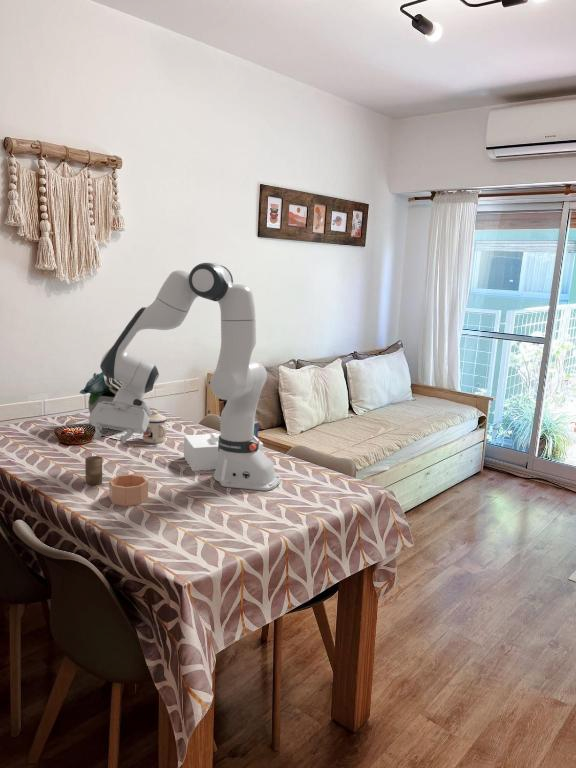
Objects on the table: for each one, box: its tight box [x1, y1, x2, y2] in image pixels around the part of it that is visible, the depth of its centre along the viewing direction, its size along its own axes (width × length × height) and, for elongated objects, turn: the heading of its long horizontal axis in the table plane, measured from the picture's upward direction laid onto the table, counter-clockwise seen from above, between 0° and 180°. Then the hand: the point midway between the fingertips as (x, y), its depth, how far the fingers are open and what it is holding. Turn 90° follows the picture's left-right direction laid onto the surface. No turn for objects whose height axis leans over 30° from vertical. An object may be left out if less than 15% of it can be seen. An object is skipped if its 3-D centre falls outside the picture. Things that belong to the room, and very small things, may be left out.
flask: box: [254, 420, 259, 440], centre depth 232 cm, size 9×3×11 cm, turn 144°
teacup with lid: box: [142, 410, 167, 444], centre depth 229 cm, size 12×9×12 cm
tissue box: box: [183, 432, 264, 472], centre depth 211 cm, size 14×25×11 cm, turn 112°
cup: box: [108, 473, 149, 507], centre depth 174 cm, size 10×10×6 cm
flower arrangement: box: [79, 371, 144, 415], centre depth 242 cm, size 25×25×24 cm
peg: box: [84, 455, 103, 487], centre depth 184 cm, size 5×5×8 cm
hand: (109, 439), depth 190 cm, fingers open, 8 cm apart
